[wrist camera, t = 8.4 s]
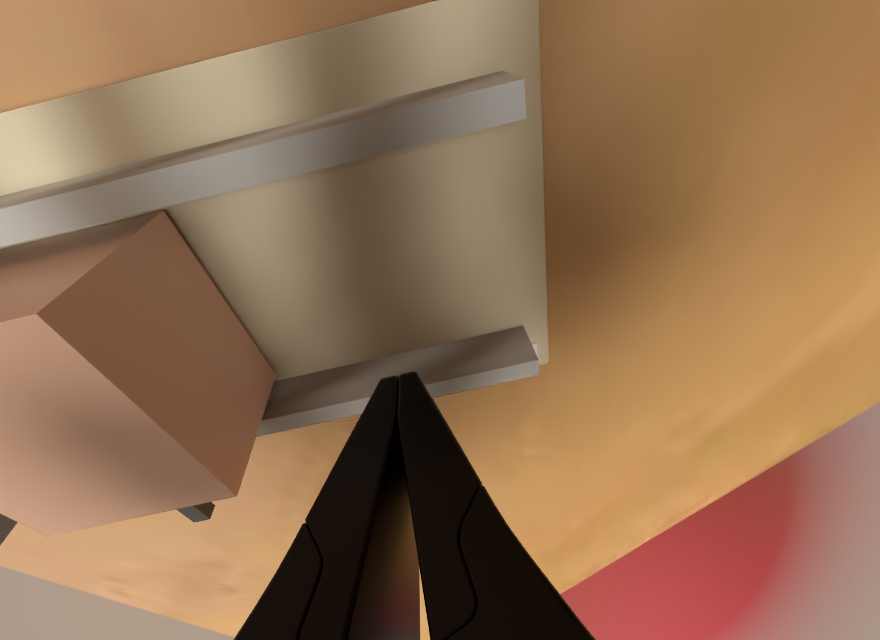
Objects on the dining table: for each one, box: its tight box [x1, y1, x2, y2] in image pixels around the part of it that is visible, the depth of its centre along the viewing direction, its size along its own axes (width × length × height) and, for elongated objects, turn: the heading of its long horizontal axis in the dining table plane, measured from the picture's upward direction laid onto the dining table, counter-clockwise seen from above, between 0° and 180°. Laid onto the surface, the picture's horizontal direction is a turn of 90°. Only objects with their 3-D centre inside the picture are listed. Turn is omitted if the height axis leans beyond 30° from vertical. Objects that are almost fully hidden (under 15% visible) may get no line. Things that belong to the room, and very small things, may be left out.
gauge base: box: [0, 0, 549, 545], centre depth 11 cm, size 24×13×7 cm, turn 102°
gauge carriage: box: [0, 211, 276, 537], centre depth 12 cm, size 6×10×5 cm, turn 12°
